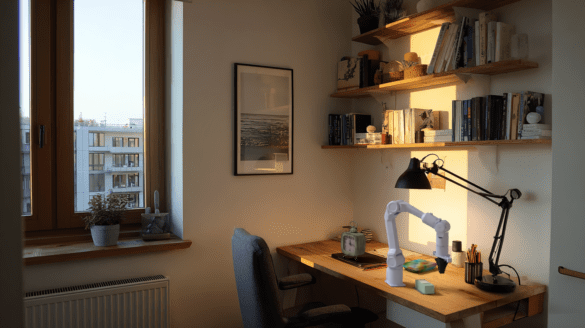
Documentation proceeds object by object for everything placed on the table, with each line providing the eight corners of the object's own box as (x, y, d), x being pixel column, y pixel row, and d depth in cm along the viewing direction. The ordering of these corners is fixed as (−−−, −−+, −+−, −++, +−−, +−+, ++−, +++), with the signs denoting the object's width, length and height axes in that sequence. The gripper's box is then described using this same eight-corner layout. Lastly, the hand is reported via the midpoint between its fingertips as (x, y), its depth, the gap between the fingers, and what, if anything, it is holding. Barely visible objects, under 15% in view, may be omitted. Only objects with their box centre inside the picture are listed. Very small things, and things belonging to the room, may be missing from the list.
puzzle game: (437, 261, 247) (415, 267, 235) (436, 269, 247) (415, 275, 235) (420, 257, 256) (399, 262, 245) (420, 265, 256) (399, 270, 245)
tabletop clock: (340, 258, 270) (341, 220, 270) (350, 256, 276) (351, 218, 275) (356, 263, 259) (357, 223, 258) (366, 261, 264) (367, 221, 263)
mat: (412, 287, 212) (412, 287, 212) (425, 287, 213) (425, 286, 213) (422, 294, 202) (422, 293, 202) (435, 293, 203) (435, 293, 203)
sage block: (424, 294, 202) (415, 287, 212) (434, 293, 203) (424, 286, 213) (424, 285, 202) (415, 279, 212) (434, 284, 203) (424, 278, 212)
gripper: (458, 248, 195) (457, 277, 195) (442, 242, 209) (441, 269, 209) (444, 249, 194) (443, 278, 194) (429, 242, 208) (428, 269, 208)
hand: (441, 273), depth 202 cm, fingers closed
